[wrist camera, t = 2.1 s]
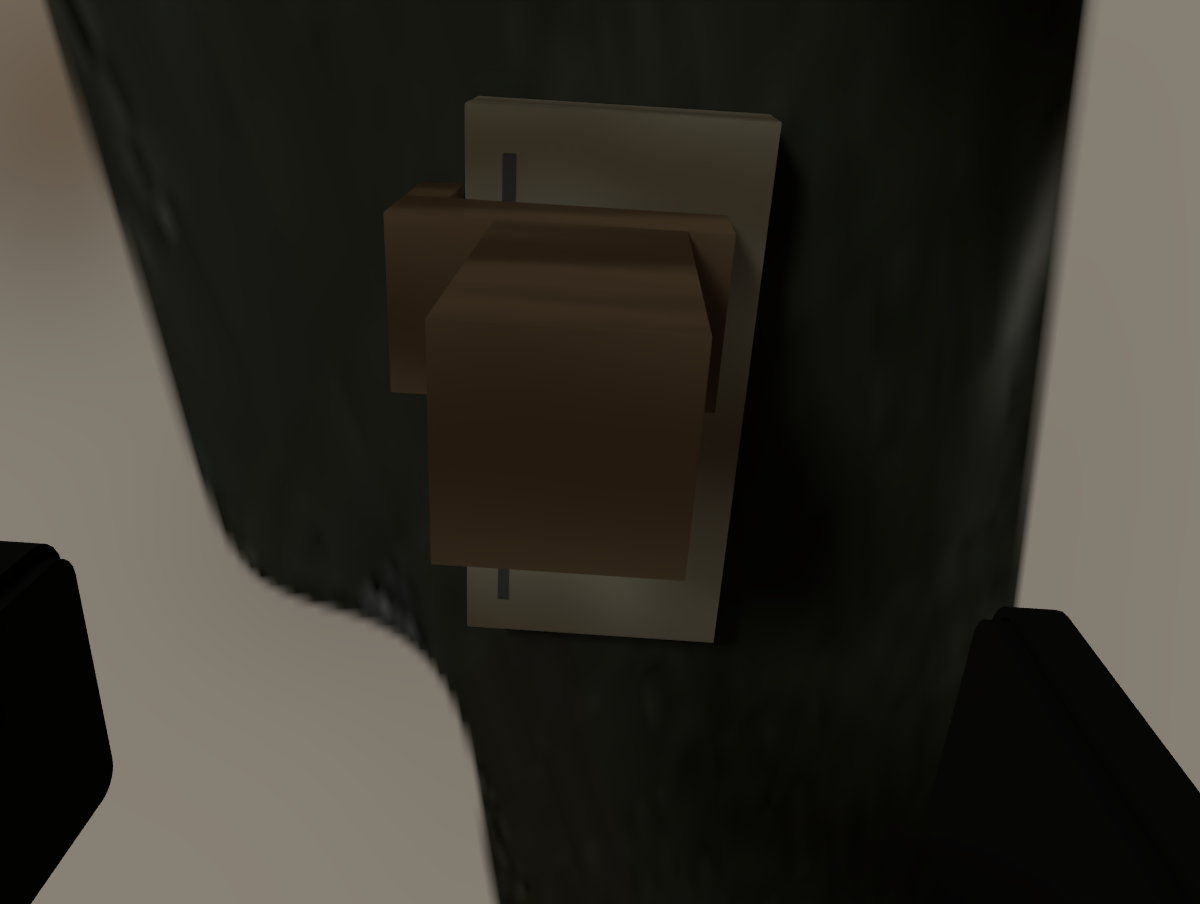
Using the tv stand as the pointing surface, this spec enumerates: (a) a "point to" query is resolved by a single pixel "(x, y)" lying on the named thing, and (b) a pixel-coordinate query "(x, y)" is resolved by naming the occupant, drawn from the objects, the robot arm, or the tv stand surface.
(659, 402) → the brown slider knob
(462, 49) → the tv stand surface
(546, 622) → the board
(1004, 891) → the robot arm
